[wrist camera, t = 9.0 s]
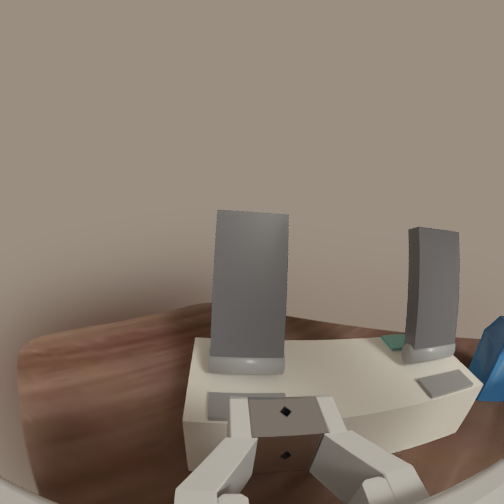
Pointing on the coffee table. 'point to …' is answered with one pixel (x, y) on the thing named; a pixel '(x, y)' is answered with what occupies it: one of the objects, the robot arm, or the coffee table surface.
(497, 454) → the coffee table surface
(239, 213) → the outer lever
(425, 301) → the inner lever
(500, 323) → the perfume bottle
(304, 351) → the switch unit
